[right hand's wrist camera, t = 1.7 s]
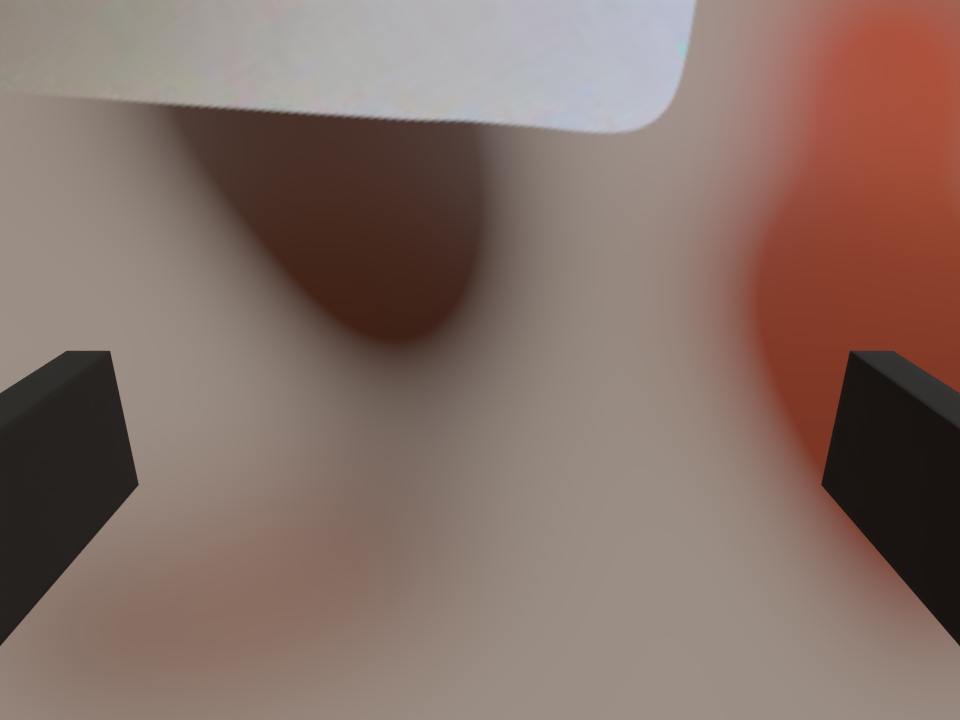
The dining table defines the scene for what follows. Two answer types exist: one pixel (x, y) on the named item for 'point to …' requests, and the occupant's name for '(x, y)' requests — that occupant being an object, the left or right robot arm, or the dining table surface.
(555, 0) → the dining table surface
